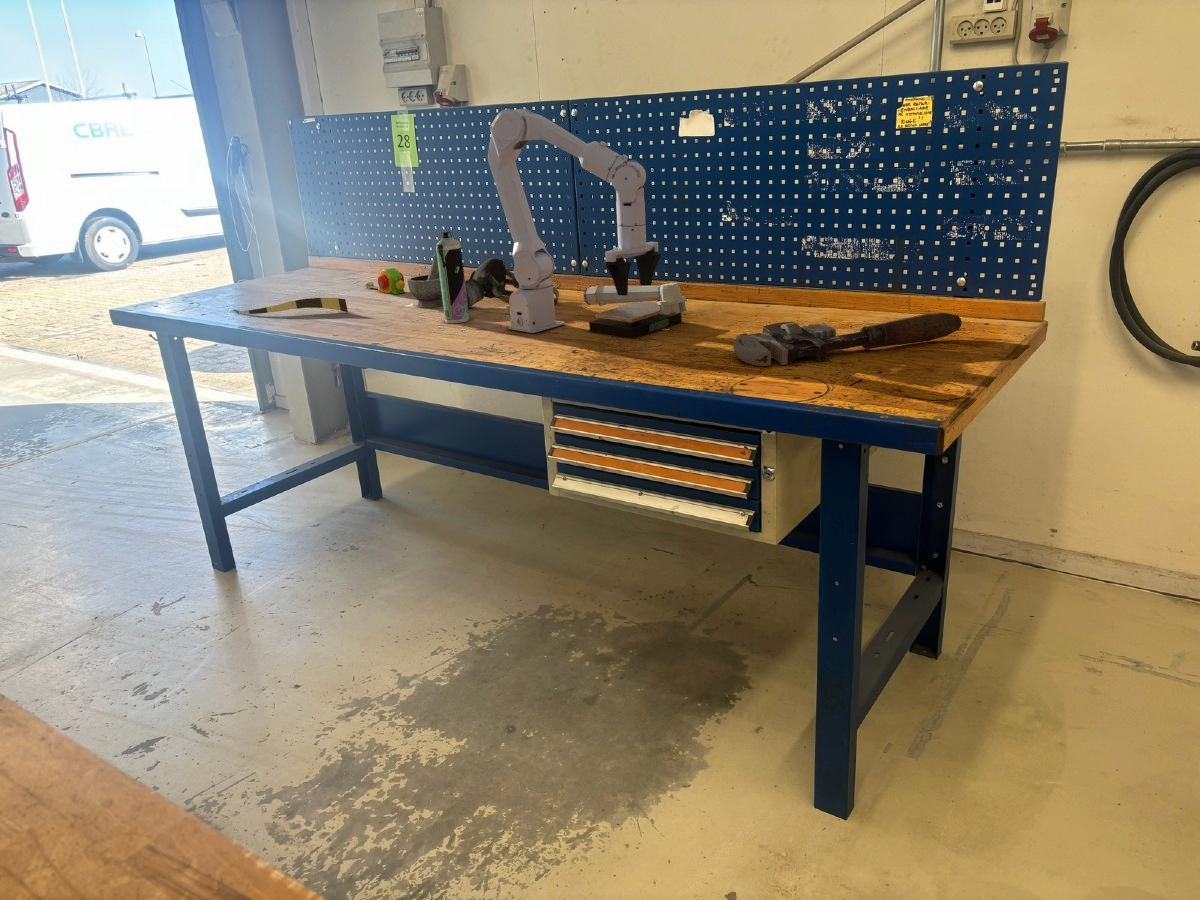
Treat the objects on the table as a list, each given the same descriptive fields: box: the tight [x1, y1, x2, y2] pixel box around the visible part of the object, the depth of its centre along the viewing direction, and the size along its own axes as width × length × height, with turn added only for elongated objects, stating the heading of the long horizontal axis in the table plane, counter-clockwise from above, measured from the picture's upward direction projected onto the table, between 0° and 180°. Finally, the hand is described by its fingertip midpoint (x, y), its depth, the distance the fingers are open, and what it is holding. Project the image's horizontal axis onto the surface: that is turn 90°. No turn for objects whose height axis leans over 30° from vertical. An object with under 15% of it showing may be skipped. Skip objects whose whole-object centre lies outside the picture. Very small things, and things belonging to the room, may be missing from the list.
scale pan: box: [594, 301, 660, 323], centre depth 178 cm, size 14×10×2 cm
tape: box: [231, 297, 349, 315], centre depth 216 cm, size 6×38×4 cm, turn 69°
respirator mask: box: [465, 257, 560, 309], centre depth 211 cm, size 20×22×15 cm
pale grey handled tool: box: [583, 282, 687, 315], centre depth 177 cm, size 5×7×25 cm
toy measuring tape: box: [364, 267, 406, 295], centre depth 237 cm, size 6×20×7 cm, turn 42°
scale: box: [588, 312, 682, 339], centre depth 179 cm, size 16×12×2 cm
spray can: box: [435, 231, 470, 324], centre depth 192 cm, size 6×6×20 cm
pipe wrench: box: [732, 312, 963, 367], centre depth 154 cm, size 43×13×5 cm, turn 106°
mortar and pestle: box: [407, 253, 443, 309], centre depth 213 cm, size 11×9×12 cm
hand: (634, 291), depth 177 cm, fingers open, 7 cm apart
